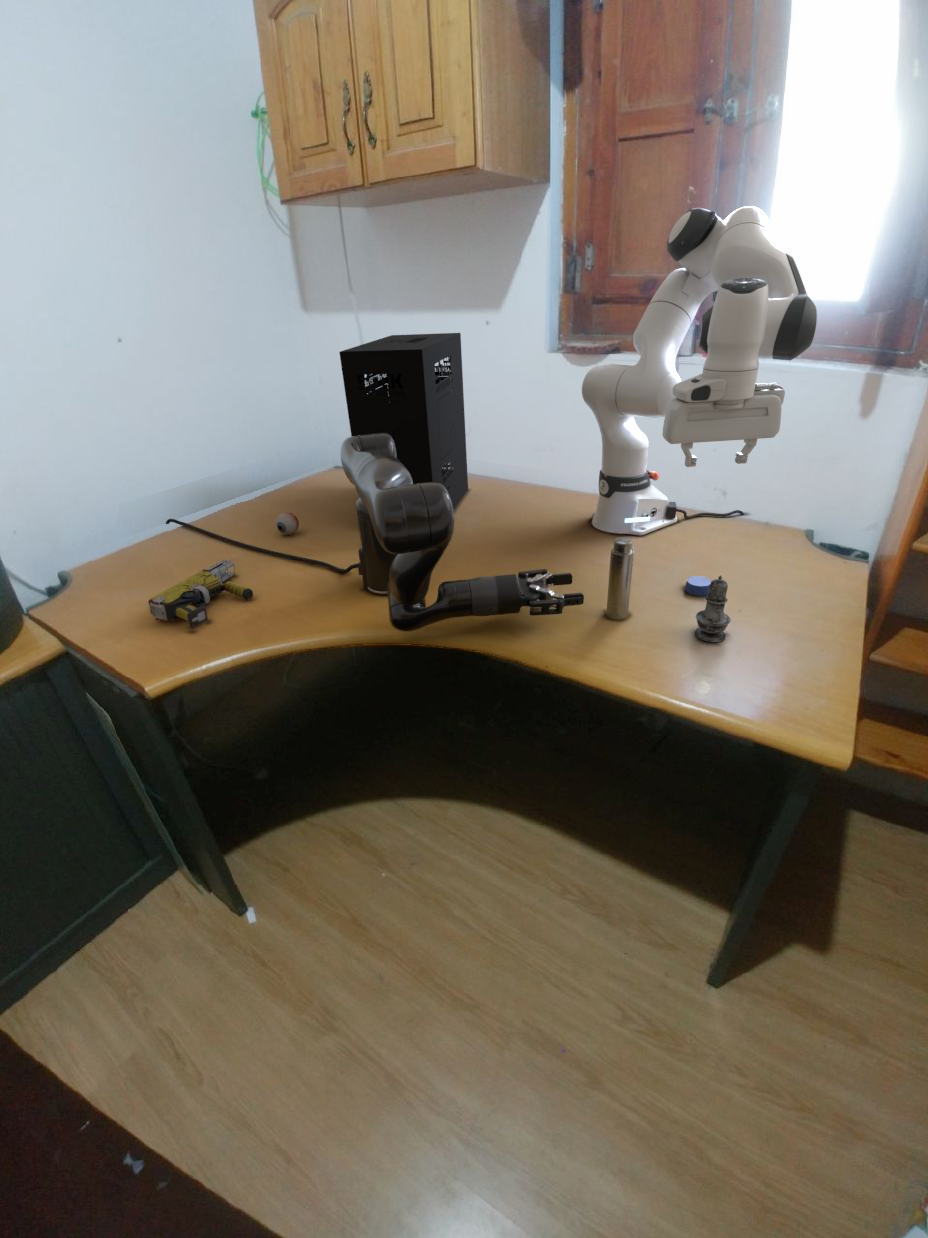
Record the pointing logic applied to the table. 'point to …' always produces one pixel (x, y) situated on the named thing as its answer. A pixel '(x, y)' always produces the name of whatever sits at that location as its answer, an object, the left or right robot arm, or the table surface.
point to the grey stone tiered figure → (713, 613)
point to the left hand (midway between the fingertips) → (577, 588)
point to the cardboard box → (412, 403)
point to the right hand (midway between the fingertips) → (715, 464)
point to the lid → (698, 585)
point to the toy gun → (196, 595)
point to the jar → (620, 578)
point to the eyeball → (287, 523)
